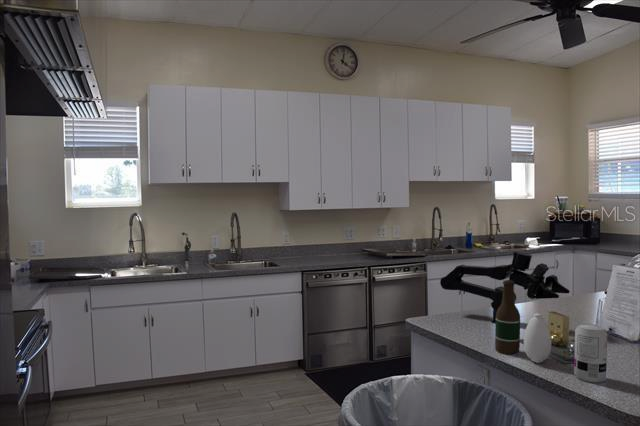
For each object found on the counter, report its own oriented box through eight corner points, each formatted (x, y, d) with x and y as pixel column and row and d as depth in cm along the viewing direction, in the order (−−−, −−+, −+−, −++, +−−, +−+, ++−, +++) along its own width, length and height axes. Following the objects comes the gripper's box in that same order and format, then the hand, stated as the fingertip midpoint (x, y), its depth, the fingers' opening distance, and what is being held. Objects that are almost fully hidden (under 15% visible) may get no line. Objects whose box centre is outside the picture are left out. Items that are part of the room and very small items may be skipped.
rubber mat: (516, 340, 185) (516, 339, 184) (553, 338, 187) (553, 337, 187) (564, 364, 159) (564, 363, 159) (605, 361, 162) (605, 360, 162)
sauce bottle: (518, 360, 162) (519, 304, 162) (534, 356, 166) (535, 302, 166) (539, 367, 156) (540, 309, 155) (555, 363, 160) (557, 306, 159)
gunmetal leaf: (550, 353, 168) (551, 343, 168) (574, 352, 170) (575, 341, 170) (565, 360, 161) (565, 349, 161) (590, 359, 163) (590, 348, 163)
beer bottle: (519, 349, 174) (520, 279, 173) (520, 356, 167) (521, 283, 166) (495, 346, 177) (496, 278, 176) (495, 353, 169) (496, 282, 168)
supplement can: (568, 373, 151) (569, 323, 150) (594, 373, 152) (595, 323, 151) (584, 383, 143) (586, 330, 142) (612, 383, 143) (614, 330, 143)
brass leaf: (539, 339, 183) (540, 312, 183) (553, 338, 184) (554, 311, 184) (553, 346, 175) (554, 317, 175) (568, 345, 177) (569, 316, 176)
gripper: (517, 265, 195) (557, 278, 184) (540, 257, 208) (579, 270, 197) (512, 291, 198) (551, 307, 187) (534, 283, 210) (572, 297, 199)
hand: (564, 294), depth 192 cm, fingers open, 9 cm apart
